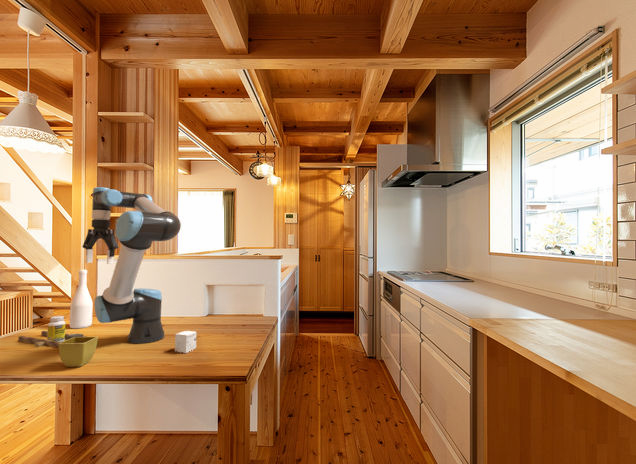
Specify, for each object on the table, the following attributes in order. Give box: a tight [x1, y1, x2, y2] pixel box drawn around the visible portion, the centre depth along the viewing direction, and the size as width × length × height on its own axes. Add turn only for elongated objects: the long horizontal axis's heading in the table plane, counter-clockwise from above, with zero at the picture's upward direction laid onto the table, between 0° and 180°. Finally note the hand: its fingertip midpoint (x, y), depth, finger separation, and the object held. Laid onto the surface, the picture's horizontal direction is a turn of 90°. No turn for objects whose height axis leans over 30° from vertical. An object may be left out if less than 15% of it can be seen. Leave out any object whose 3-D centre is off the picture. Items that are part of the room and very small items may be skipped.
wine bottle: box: [69, 269, 94, 329], centre depth 170 cm, size 10×10×30 cm
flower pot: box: [58, 336, 99, 368], centre depth 118 cm, size 9×9×9 cm
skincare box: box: [174, 330, 197, 354], centre depth 135 cm, size 6×6×7 cm
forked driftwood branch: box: [17, 330, 88, 348], centre depth 144 cm, size 32×15×4 cm, turn 73°
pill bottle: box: [46, 315, 66, 342], centre depth 144 cm, size 6×6×11 cm
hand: (99, 263), depth 155 cm, fingers open, 13 cm apart
